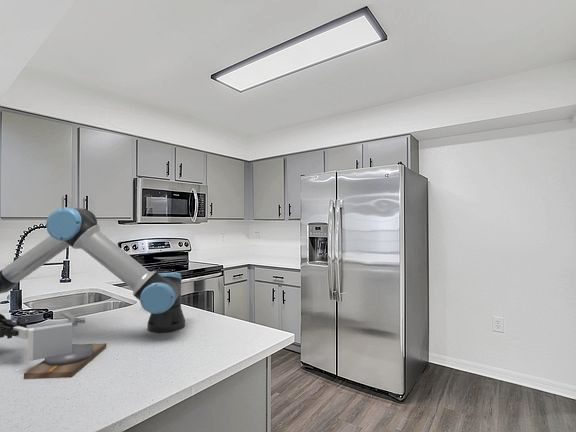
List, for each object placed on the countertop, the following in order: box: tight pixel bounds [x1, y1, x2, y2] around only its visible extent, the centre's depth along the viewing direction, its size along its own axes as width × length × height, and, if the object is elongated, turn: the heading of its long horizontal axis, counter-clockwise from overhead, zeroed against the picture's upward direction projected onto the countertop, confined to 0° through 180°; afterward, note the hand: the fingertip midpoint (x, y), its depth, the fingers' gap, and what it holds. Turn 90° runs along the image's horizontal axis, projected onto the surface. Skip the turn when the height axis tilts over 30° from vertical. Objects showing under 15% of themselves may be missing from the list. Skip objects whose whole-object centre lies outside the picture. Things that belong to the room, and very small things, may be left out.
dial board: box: [23, 343, 107, 380], centre depth 105 cm, size 13×22×2 cm, turn 5°
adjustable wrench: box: [60, 310, 86, 327], centre depth 151 cm, size 25×6×2 cm, turn 43°
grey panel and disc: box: [27, 322, 93, 365], centre depth 104 cm, size 17×13×11 cm
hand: (27, 334), depth 102 cm, fingers closed
